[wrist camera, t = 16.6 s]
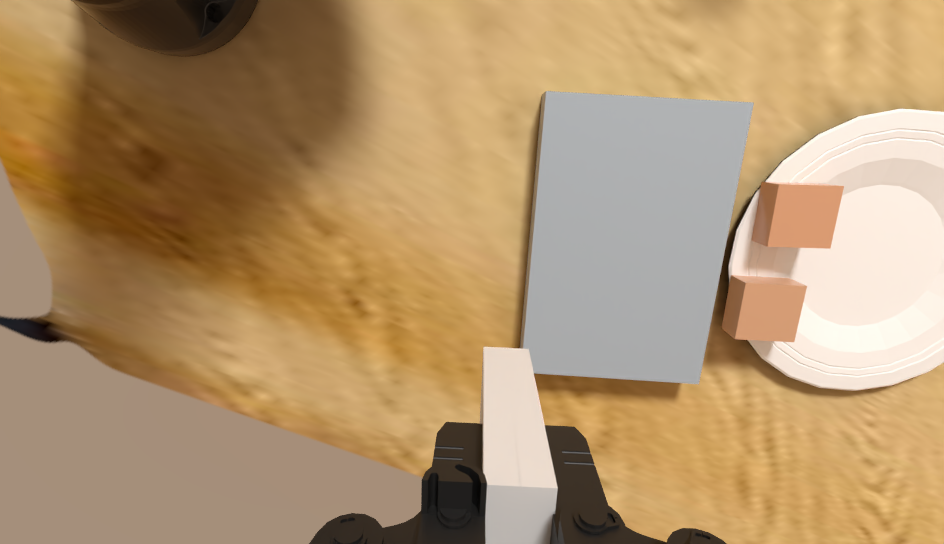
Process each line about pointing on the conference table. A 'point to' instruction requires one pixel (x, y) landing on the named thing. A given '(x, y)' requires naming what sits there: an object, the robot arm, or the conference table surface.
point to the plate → (863, 255)
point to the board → (629, 233)
